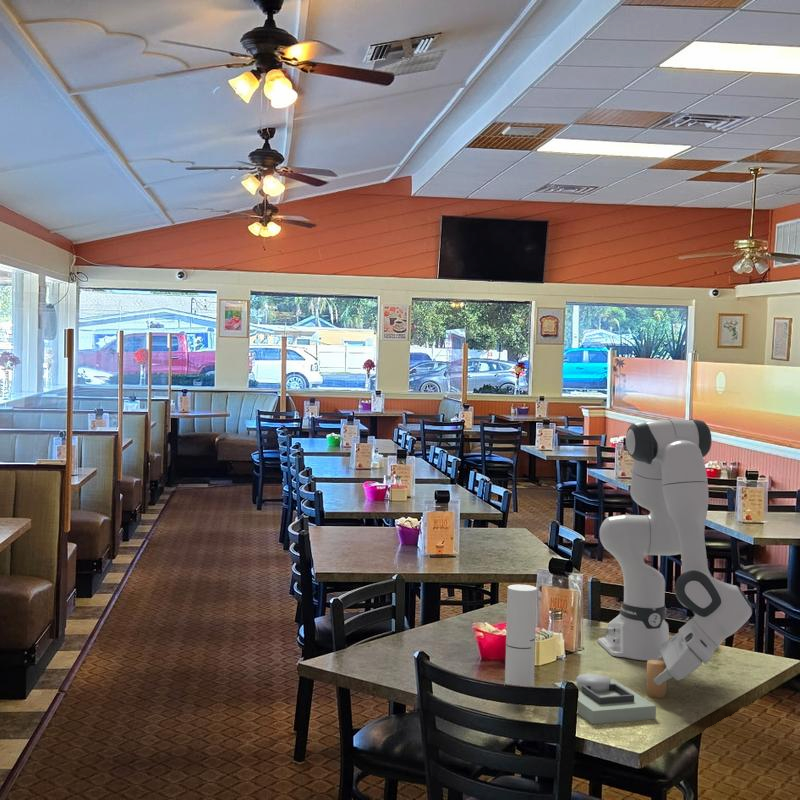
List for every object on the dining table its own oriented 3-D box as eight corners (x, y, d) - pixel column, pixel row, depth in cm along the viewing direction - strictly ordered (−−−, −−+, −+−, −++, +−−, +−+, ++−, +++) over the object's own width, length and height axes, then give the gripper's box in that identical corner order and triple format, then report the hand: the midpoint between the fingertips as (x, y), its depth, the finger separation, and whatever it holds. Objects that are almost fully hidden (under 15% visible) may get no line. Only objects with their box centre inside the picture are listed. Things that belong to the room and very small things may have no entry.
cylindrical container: (539, 687, 245) (542, 587, 244) (522, 694, 240) (525, 592, 239) (515, 681, 250) (518, 583, 249) (498, 687, 245) (501, 587, 244)
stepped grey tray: (553, 695, 240) (554, 674, 240) (612, 690, 244) (613, 670, 244) (592, 724, 221) (593, 702, 221) (655, 718, 225) (656, 697, 225)
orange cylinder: (642, 692, 244) (643, 660, 244) (658, 691, 245) (660, 659, 245) (652, 698, 239) (653, 665, 239) (669, 697, 241) (670, 664, 240)
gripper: (681, 619, 251) (640, 655, 253) (693, 641, 231) (648, 679, 233) (698, 638, 250) (657, 673, 252) (712, 661, 230) (667, 700, 232)
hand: (653, 676), depth 242 cm, fingers open, 7 cm apart
